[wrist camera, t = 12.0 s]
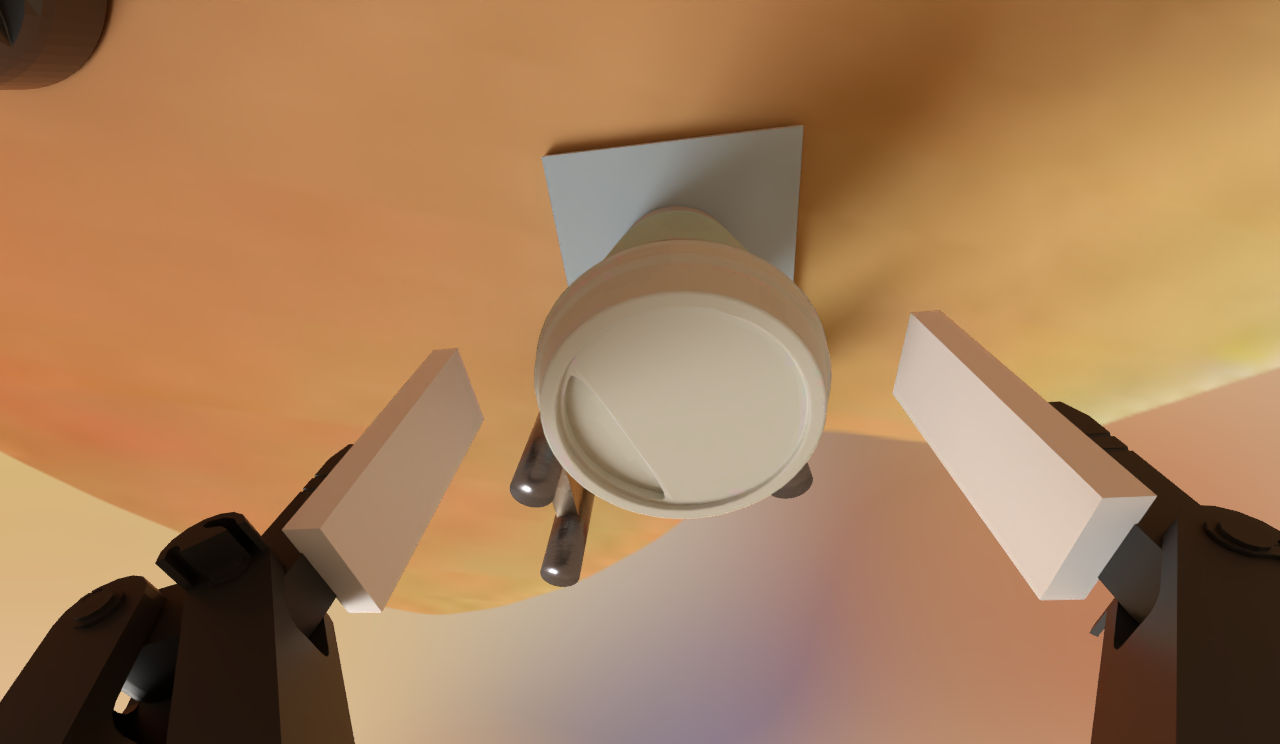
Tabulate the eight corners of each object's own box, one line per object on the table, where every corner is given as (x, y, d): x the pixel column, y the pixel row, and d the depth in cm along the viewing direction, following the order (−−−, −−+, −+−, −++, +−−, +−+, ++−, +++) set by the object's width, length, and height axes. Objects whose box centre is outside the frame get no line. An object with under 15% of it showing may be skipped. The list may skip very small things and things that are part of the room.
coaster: (544, 154, 20) (541, 156, 20) (800, 124, 19) (803, 125, 19) (587, 366, 26) (585, 371, 26) (786, 352, 25) (788, 358, 24)
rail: (546, 376, 27) (504, 476, 20) (776, 361, 25) (814, 462, 19) (572, 476, 31) (545, 587, 24) (770, 468, 29) (800, 582, 23)
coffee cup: (586, 167, 20) (499, 253, 10) (783, 179, 20) (902, 279, 10) (588, 340, 25) (531, 521, 14) (749, 351, 24) (805, 542, 14)
